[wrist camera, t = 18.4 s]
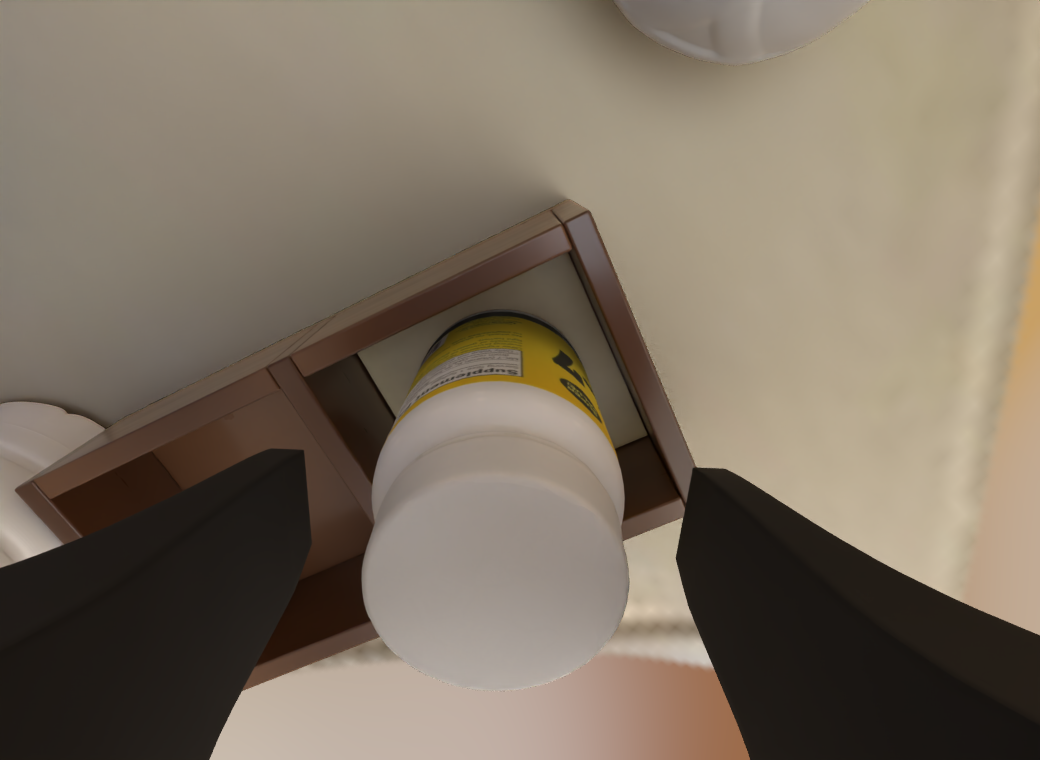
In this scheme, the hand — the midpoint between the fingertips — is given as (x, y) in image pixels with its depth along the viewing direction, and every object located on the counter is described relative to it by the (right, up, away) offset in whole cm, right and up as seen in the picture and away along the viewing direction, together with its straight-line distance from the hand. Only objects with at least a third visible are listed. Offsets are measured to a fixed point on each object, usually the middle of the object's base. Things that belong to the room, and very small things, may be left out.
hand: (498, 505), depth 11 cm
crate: (-3, +1, +7) cm, 8 cm away
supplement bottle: (0, +2, +6) cm, 6 cm away
